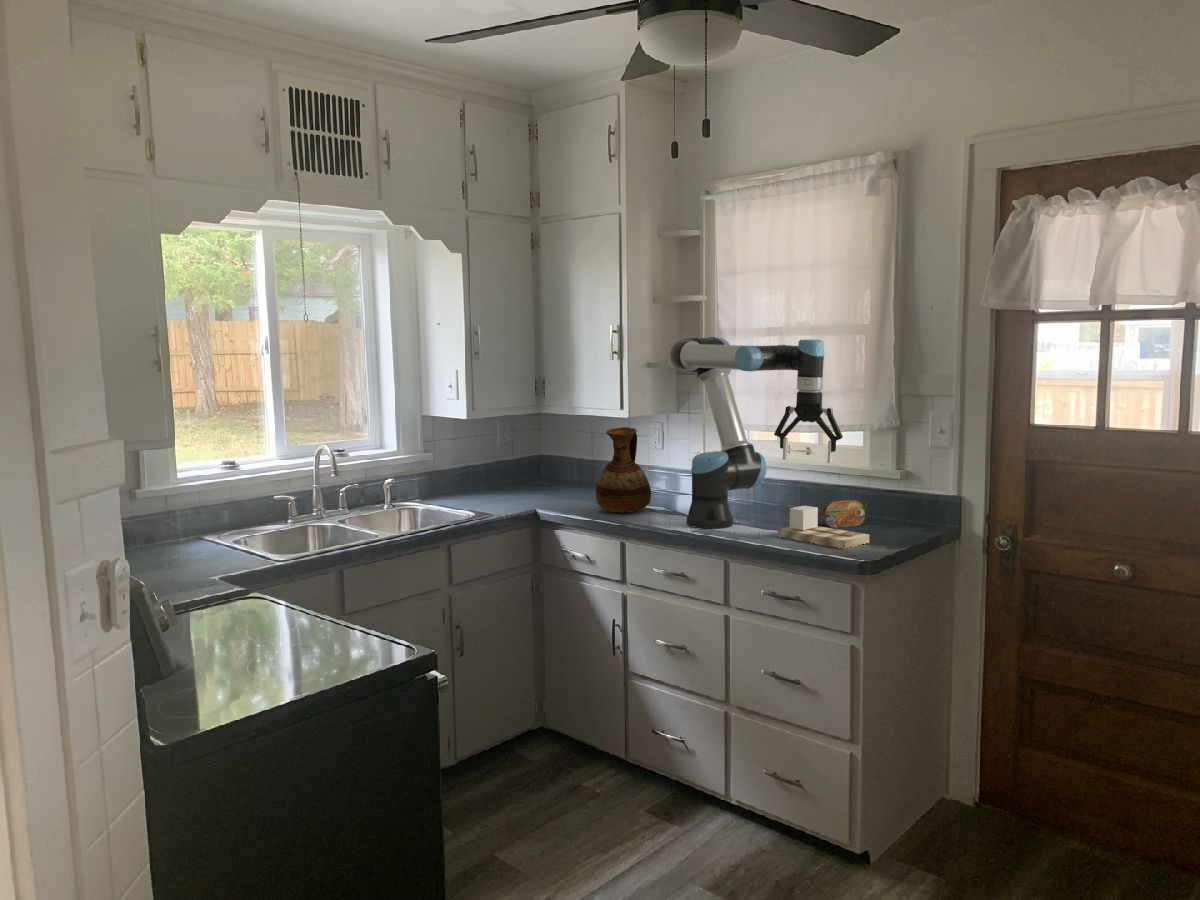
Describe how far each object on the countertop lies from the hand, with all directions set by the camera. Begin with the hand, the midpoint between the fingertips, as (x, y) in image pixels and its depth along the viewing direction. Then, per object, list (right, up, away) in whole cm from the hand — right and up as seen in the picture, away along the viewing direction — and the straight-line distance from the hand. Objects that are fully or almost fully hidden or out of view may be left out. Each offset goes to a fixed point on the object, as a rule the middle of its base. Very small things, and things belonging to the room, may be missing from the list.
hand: (807, 461), depth 281 cm
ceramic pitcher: (-55, -19, +49) cm, 76 cm away
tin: (+15, -21, +15) cm, 30 cm away
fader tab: (-1, -20, 0) cm, 20 cm away
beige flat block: (+4, -24, -5) cm, 24 cm away
